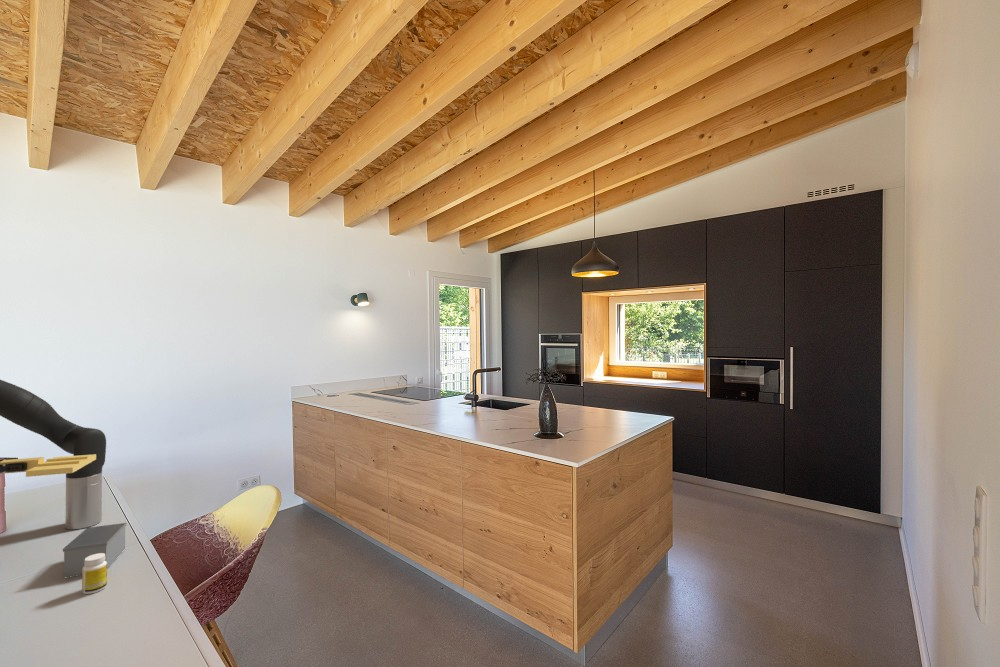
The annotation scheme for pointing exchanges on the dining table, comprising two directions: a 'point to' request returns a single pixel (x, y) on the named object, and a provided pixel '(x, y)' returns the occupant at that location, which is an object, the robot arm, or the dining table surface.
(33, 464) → the lid
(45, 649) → the dining table surface
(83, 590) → the supplement bottle
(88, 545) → the grey box
